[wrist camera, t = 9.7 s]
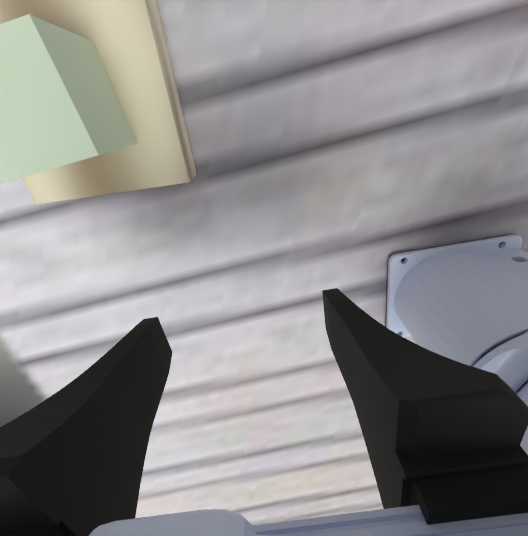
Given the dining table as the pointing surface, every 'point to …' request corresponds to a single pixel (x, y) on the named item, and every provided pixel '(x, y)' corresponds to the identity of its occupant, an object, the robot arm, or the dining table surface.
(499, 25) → the dining table surface
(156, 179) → the beige block
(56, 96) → the sage cube
